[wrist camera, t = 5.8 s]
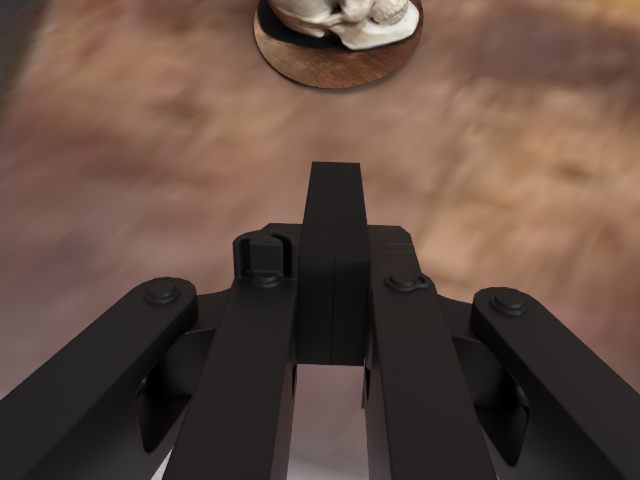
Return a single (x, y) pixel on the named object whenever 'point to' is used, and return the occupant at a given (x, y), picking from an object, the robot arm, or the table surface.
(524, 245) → the table surface
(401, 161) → the table surface
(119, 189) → the table surface
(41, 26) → the table surface
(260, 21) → the skull
